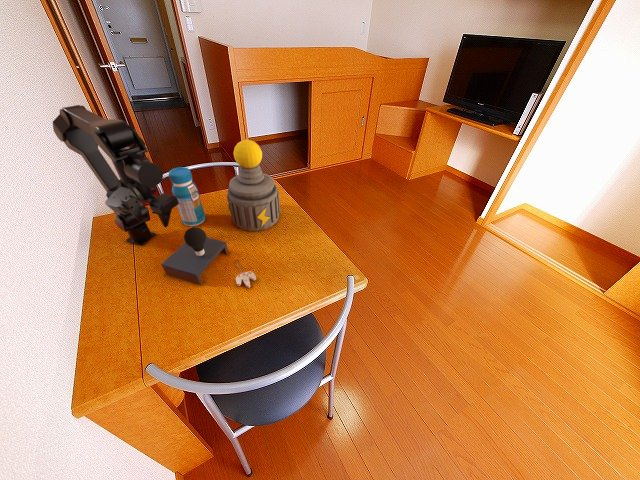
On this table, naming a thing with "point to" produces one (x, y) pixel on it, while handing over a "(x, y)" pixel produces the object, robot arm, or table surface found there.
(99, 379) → the table surface
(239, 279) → the game controller
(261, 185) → the decorative lamp
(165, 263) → the dark grey slab
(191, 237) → the light bulb
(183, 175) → the beverage bottle
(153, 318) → the table surface
